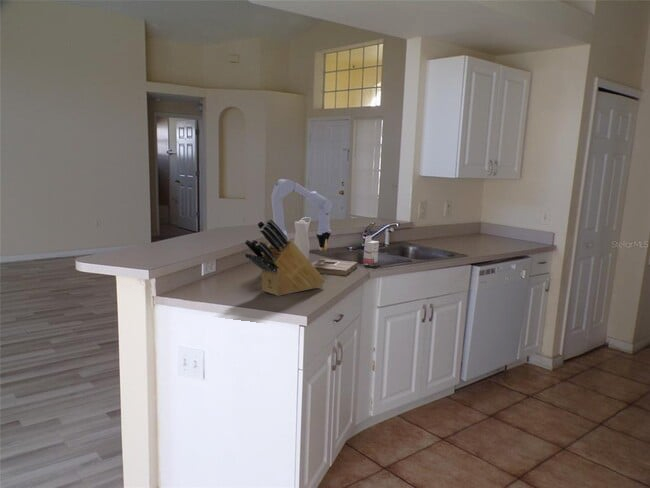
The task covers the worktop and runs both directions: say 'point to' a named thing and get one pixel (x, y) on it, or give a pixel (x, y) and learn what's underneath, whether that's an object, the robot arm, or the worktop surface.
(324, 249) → the brass peg
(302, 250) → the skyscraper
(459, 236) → the worktop surface
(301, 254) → the knife block
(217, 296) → the worktop surface
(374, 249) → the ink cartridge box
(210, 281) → the worktop surface
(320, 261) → the plate
